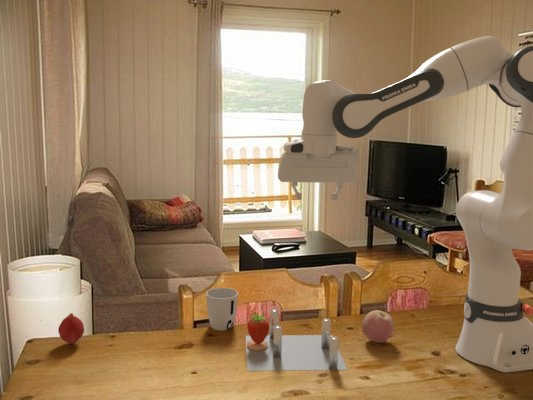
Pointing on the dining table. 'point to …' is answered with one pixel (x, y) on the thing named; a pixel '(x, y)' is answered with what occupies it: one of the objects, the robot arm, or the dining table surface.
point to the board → (292, 355)
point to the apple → (378, 326)
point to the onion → (71, 329)
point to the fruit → (258, 328)
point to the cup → (222, 307)
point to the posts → (326, 343)
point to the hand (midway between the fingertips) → (316, 199)
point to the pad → (257, 345)
